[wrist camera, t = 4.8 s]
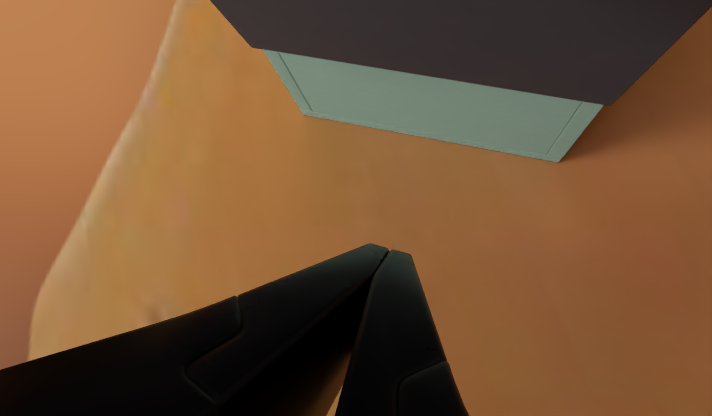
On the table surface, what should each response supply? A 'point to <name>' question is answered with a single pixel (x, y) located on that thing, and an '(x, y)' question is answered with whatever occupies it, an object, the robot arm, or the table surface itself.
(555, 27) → the dark flat rectangular panel
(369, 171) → the table surface
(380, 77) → the sage green storage tray
